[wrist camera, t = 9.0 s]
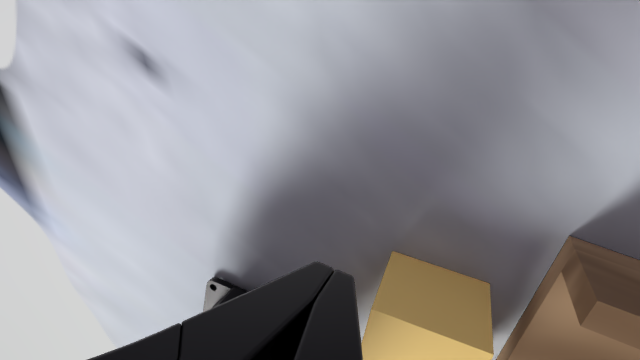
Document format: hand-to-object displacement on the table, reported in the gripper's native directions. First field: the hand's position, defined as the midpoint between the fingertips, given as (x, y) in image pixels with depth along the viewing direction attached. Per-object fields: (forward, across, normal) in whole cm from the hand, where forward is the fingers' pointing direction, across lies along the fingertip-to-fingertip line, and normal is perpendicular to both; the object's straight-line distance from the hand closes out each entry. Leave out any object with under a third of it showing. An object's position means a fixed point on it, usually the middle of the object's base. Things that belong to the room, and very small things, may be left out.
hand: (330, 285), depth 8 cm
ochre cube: (+12, -4, +8) cm, 15 cm away
